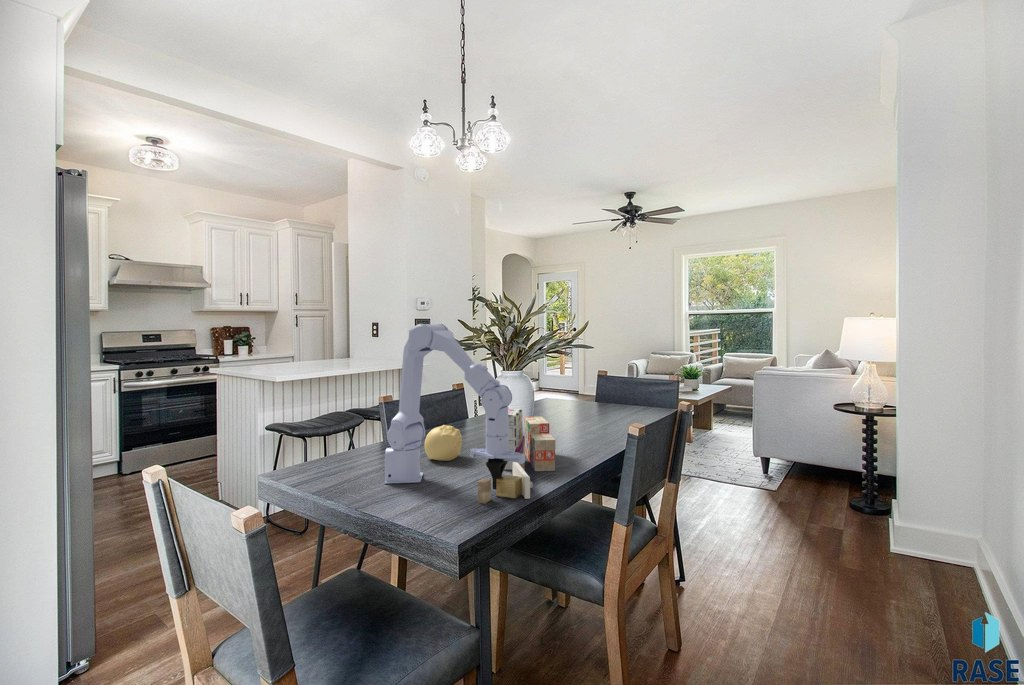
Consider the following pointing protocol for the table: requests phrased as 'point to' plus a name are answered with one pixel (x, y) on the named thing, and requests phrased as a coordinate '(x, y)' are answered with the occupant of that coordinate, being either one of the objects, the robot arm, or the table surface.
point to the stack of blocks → (539, 444)
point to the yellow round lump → (443, 443)
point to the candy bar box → (515, 433)
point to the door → (523, 479)
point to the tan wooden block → (508, 487)
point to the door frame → (487, 488)
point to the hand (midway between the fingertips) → (497, 488)
